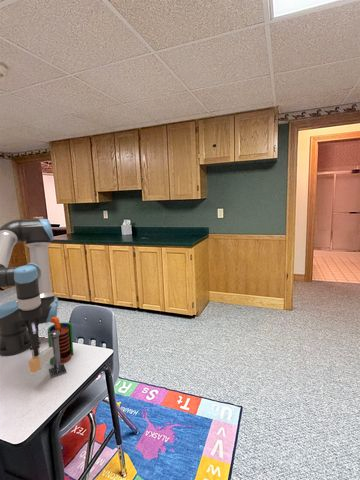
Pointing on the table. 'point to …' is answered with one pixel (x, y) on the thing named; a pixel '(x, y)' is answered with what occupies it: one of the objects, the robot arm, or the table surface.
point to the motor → (62, 339)
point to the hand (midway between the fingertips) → (37, 361)
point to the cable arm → (40, 359)
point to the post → (56, 355)
